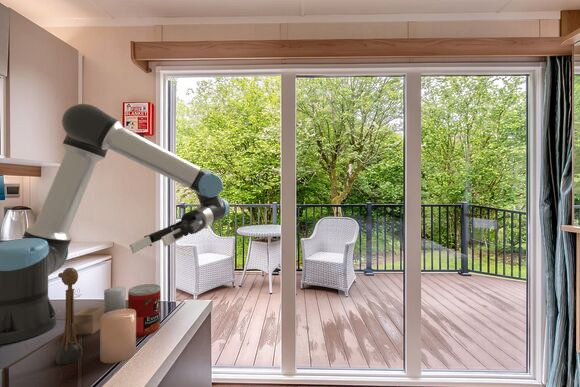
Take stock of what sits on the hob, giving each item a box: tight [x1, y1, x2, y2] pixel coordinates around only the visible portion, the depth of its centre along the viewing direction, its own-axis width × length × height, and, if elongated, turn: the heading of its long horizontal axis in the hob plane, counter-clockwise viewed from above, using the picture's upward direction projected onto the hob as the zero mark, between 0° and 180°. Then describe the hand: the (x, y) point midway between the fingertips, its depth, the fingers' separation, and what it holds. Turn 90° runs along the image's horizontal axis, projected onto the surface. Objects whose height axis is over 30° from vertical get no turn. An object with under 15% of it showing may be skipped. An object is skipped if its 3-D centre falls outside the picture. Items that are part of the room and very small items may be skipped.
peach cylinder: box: [99, 308, 137, 364], centre depth 67 cm, size 7×7×9 cm
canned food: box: [127, 283, 161, 337], centre depth 79 cm, size 8×8×11 cm
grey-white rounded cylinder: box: [103, 286, 127, 314], centre depth 90 cm, size 6×6×7 cm
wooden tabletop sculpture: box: [55, 267, 84, 365], centre depth 65 cm, size 6×5×20 cm
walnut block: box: [74, 306, 104, 335], centre depth 78 cm, size 5×5×5 cm
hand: (147, 245), depth 83 cm, fingers open, 13 cm apart
